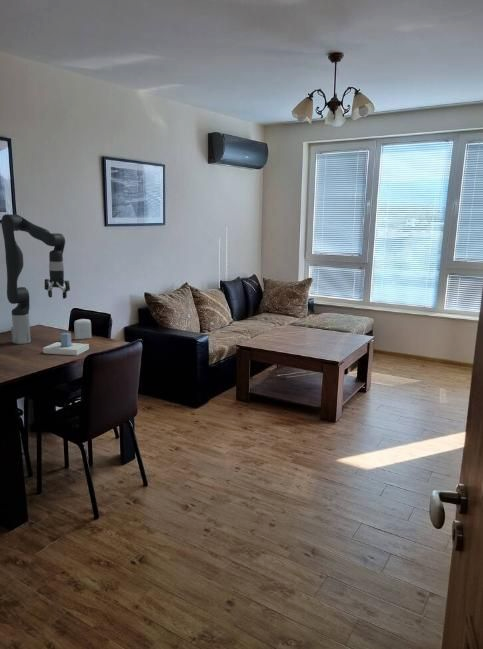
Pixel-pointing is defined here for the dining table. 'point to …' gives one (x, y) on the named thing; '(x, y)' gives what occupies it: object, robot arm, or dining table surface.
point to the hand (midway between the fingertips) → (57, 297)
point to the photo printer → (82, 329)
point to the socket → (66, 349)
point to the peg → (66, 340)
